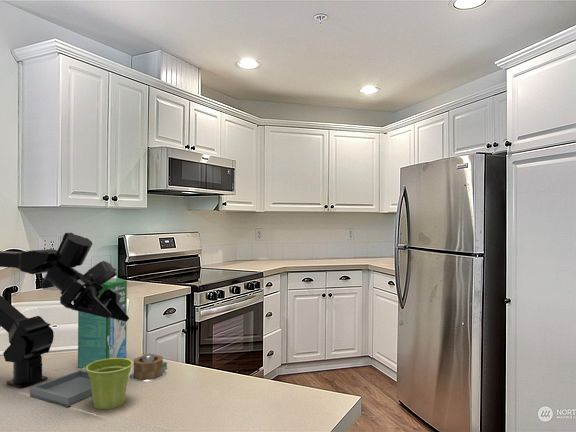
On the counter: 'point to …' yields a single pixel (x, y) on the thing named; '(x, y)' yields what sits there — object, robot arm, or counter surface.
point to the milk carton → (103, 330)
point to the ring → (149, 368)
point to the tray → (64, 389)
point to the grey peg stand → (145, 359)
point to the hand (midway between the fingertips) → (119, 318)
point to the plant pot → (109, 381)
